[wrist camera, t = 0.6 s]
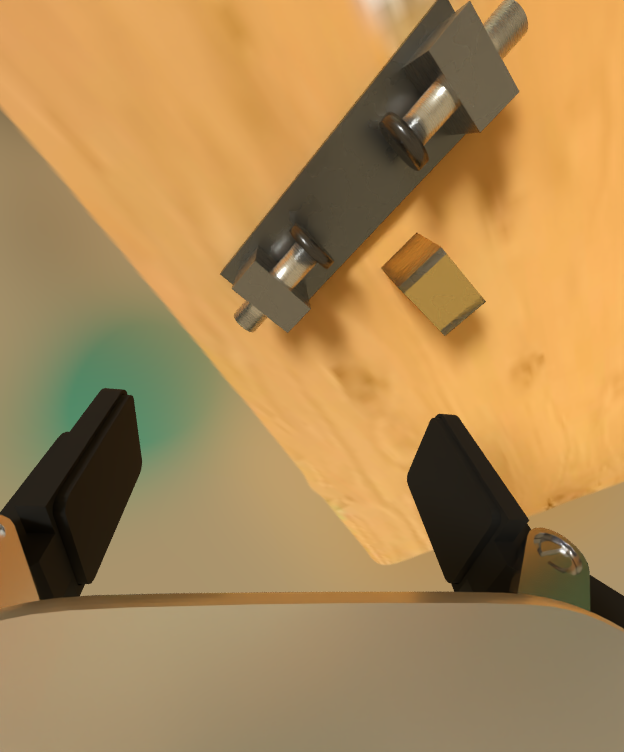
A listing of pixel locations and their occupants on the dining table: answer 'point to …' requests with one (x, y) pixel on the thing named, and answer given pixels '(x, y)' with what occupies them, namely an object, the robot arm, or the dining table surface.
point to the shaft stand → (377, 157)
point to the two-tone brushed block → (433, 283)
